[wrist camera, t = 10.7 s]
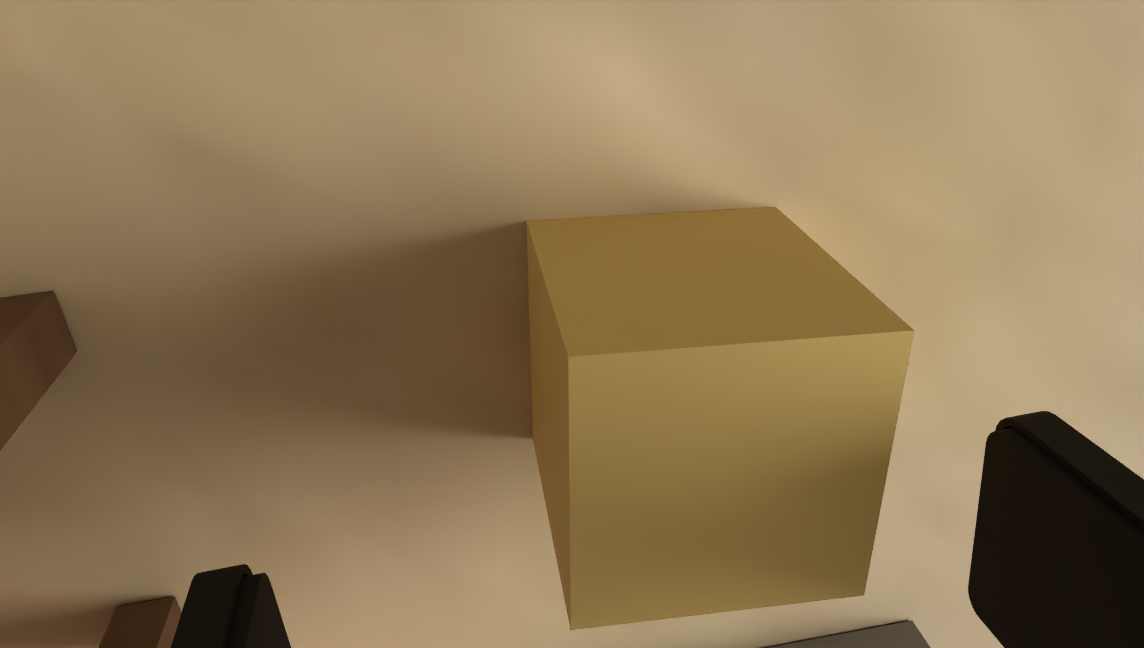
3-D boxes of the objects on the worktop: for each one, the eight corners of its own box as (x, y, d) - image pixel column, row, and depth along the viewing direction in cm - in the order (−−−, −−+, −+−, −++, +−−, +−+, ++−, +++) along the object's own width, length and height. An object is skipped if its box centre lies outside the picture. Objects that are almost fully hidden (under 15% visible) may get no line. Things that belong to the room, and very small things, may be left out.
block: (526, 219, 13) (568, 357, 9) (774, 205, 14) (913, 330, 10) (532, 436, 15) (570, 629, 11) (752, 417, 16) (864, 595, 12)
